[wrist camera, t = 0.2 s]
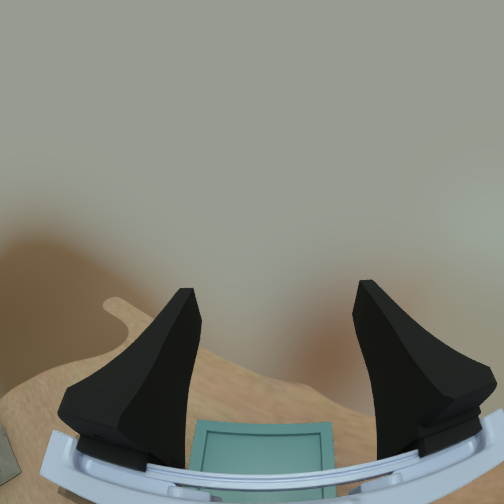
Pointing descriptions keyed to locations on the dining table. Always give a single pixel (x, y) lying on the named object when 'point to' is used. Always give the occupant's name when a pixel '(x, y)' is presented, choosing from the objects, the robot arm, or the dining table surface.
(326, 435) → the tray
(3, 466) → the supplement box
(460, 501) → the dining table surface
